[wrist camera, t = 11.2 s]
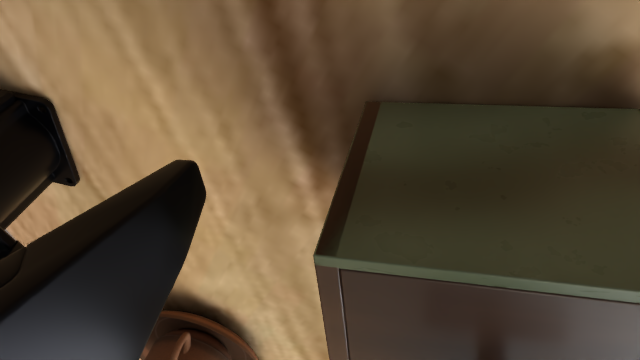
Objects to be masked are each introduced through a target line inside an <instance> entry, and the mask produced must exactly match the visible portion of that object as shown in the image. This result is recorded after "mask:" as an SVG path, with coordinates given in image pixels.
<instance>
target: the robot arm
mask: <svg viewBox="0 0 640 360" xmlns="http://www.w3.org/2000/svg"><path fill="white" fill-rule="evenodd" d="M79 181H80V178H79V175H78V172H77V170H76V167H75V164H74V161H73V159H72V156H71V153H70V150H69V147H68V145H67V142H66V139H65V136H64V133H63V131H62V128H61V125H60V122H59V119H58V117H57V114H56V111H55V108H54V106H53V104H52V103H51V102H50V101H49V100H47V99H45V98H40V97H35V96H30V95H25V94H20V93H15V92H10V91H5V90H0V360H139V358H140V356H141V354H142V352H143V350H144V348H145V346H146V343H147V341H148V339H149V337H150V335H151V333H152V331H153V328H154V326H155V324H156V322H157V320H158V318H159V315H160V313H161V311H162V309H163V307H164V305H165V303H166V300H167V298H168V296H169V294H170V292H171V290H172V288H173V285H174V283H175V281H176V279H177V277H178V275H179V272H180V270H181V268H182V266H183V264H184V261H185V259H186V256H187V253H188V251H189V248H190V245H191V242H192V239H193V236H194V233H195V230H196V227H197V224H198V221H199V218H200V215H201V212H202V209H203V206H204V203H205V199H206V190H205V186H204V183H203V180H202V177H201V174H200V170H199V167H198V165H197V163H196V162H194V161H192V160H175V161H173V162H171V163H170V164H168V165H166V166H164V167H163V168H161V169H159V170H157V171H156V172H154V173H152V174H150V175H149V176H147V177H145V178H143V179H142V180H140V181H138V182H136V183H135V184H133V185H131V186H129V187H128V188H126V189H124V190H122V191H121V192H119V193H117V194H115V195H114V196H112V197H110V198H108V199H107V200H105V201H103V202H101V203H100V204H98V205H96V206H94V207H93V208H91V209H89V210H87V211H86V212H84V213H82V214H80V215H79V216H77V217H75V218H73V219H72V220H70V221H68V222H66V223H65V224H63V225H61V226H59V227H58V228H56V229H54V230H52V231H51V232H49V233H47V234H45V235H44V236H42V237H40V238H38V239H37V240H35V241H33V242H31V243H30V244H28V245H27V247H24V246H23V245H22V244H21V243H20V242H19V241H18V240H17V241H15V240H14V239H13V238H12V237H11V236H10V235H9V234H8V233H7V232H6V231H5V229H6V228H7V227H8V226H9V225H10V224H11V223H12V222H13V221H14V220H15V219H16V218H17V217H18V216H19V215H20V214H21V213H22V212H23V211H24V210H25V209H26V208H27V207H28V206H29V205H30V204H31V203H32V202H33V201H34V200H35V199H36V198H37V197H38V196H39V195H40V194H41V193H42V192H43V191H44V190H45V189H46V188H47V187H48V186H49V185H50V184H51V183H52V182H55V183H59V184H64V185H68V186H75V185H76V184H77V183H78V182H79Z"/></svg>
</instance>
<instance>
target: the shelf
mask: <svg viewBox="0 0 640 360" xmlns="http://www.w3.org/2000/svg"><path fill="white" fill-rule="evenodd" d="M313 256H314V263H315V269H316V276H317V282H318V288H319V295H320V301H321V308H322V314H323V321H324V327H325V334H326V340H327V346H328V353H329V359H330V360H640V109H616V108H580V107H544V106H509V105H473V104H438V103H402V102H366V103H365V106H364V109H363V112H362V115H361V118H360V120H359V123H358V126H357V129H356V132H355V135H354V138H353V141H352V144H351V147H350V150H349V153H348V156H347V158H346V161H345V164H344V167H343V170H342V173H341V176H340V179H339V182H338V185H337V188H336V191H335V194H334V196H333V199H332V202H331V205H330V208H329V211H328V214H327V217H326V220H325V223H324V226H323V229H322V232H321V234H320V237H319V240H318V243H317V246H316V249H315V252H314V255H313Z"/></svg>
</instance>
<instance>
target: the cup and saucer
mask: <svg viewBox="0 0 640 360" xmlns="http://www.w3.org/2000/svg"><path fill="white" fill-rule="evenodd" d="M140 359H141V360H258V358H257V356H256V354H255V353H254V351H253V350H252V349H251V347H250V346H249V345H248V344H247V343H246V342H245V341H244V340H243V339H242V338H240V337H239V336H238V335H236V334H235V333H234V332H232V331H231V330H229V329H228V328H226V327H224V326H222V325H220V324H218V323H216V322H214V321H212V320H210V319H207V318H204V317H202V316H198V315H195V314H191V313H187V312H181V311H161V313H160V315H159V318H158V320H157V322H156V324H155V326H154V328H153V331H152V333H151V335H150V337H149V339H148V341H147V343H146V346H145V348H144V350H143V352H142V354H141V356H140Z"/></svg>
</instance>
